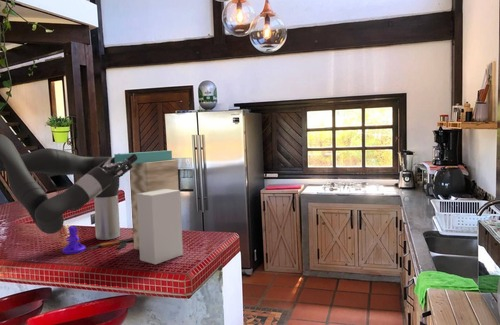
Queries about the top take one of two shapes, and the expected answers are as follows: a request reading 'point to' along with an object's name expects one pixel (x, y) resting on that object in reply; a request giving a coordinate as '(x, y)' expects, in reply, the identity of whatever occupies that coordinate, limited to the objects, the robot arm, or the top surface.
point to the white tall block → (159, 225)
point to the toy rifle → (121, 242)
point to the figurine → (73, 242)
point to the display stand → (150, 184)
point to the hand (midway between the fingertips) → (128, 155)
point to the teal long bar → (145, 156)
